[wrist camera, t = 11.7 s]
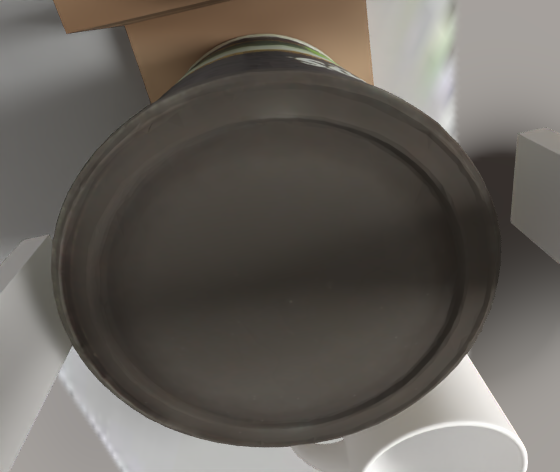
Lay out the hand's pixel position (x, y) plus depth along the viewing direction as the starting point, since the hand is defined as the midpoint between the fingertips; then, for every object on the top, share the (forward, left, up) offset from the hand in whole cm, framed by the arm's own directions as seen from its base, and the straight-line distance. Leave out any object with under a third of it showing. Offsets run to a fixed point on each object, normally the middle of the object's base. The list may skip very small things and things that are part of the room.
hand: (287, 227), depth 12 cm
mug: (+16, +3, -13) cm, 21 cm away
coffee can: (+1, 0, -11) cm, 11 cm away
